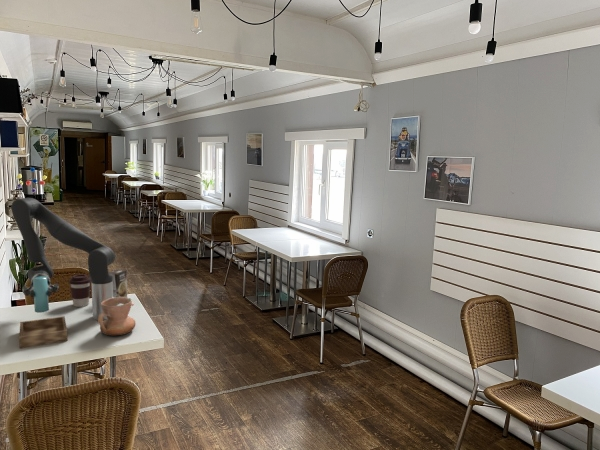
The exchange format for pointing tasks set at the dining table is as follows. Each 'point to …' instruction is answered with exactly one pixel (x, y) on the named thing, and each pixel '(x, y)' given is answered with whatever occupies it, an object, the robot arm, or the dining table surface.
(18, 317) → the dining table surface
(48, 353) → the dining table surface
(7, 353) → the dining table surface
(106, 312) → the ceramic jug
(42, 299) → the teal canister
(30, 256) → the robot arm
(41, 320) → the walnut crate
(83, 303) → the coffee cup
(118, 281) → the coffee box
